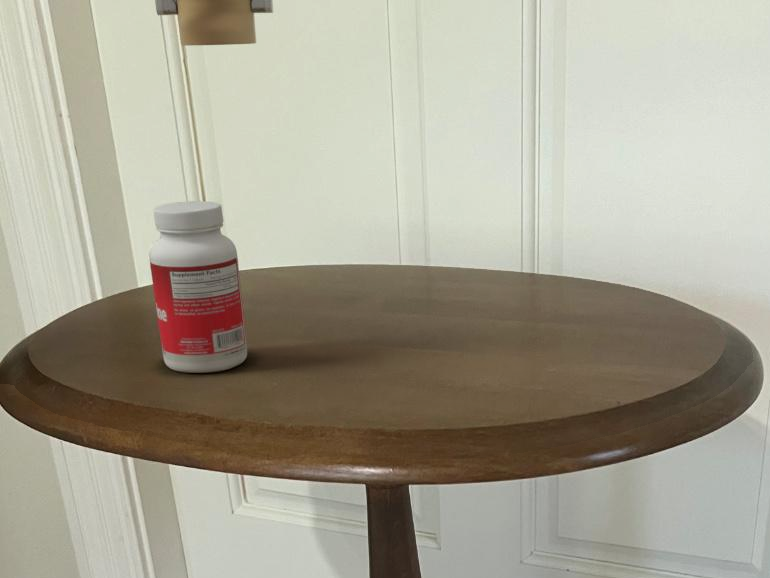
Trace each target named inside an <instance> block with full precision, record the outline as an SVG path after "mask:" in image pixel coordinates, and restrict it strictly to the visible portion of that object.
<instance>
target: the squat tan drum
mask: <svg viewBox="0 0 770 578" xmlns="http://www.w3.org/2000/svg"><path fill="white" fill-rule="evenodd" d="M251 2H252V0H176V4H177V12H178V15H177V22H178V30H179V40H180V45H181V46H225V45H227V46H228V45H251V44H252V45H253V44H257V33H256V32H257V31H256V20H255V19H256V18H255V13H252V7H251Z"/></svg>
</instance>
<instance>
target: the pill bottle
mask: <svg viewBox="0 0 770 578" xmlns="http://www.w3.org/2000/svg"><path fill="white" fill-rule="evenodd" d="M153 218H154V225H155V227H156V228H155V230H156V231H157V232H159V234H160V237H159V238H158V239H157V240H155V241H154V242H153V244H152V245H151V247H150V248H149V253H148V257H149V268H150V274H151V280H152V287H153V288H152V289H153V295H154V301H155V308H156V313H157V314H156V316H157V323H158V329H159V336H160V337H159V338H160V344H161V350H162V351H161V352H162V357H163V361H164V364H165V366H167V368H169V369H171V370H173V371H175V372H180V373H189V374H203V373H204V374H206V373H217V372H223V371H226V370H230V369H233V368H235V367H237V366H239V365H241V364H242V363H244V361H245V360H246V359H247V357H248V344H247V333H246V326H245V318H244V308H243V298H242V297H243V296H242V288H241V279H240V268H239V258H238V257H239V256H238V252H237V251H238V250H237V246H236V244H235V243H234V241H233V240H232V239H230V238H229V237H227V236H226V235H224V234H222V231H221V228H223V227H224V216H223V207H222V204H221V203H218V202H215V201H204V200H202V201H201V200H190V201H189V200H187V201H175V202H168V203H164V204H160V205H157V206H155V207H154V208H153Z"/></svg>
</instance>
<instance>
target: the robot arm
mask: <svg viewBox="0 0 770 578" xmlns="http://www.w3.org/2000/svg"><path fill="white" fill-rule="evenodd" d="M273 1H274V0H252V2H251V7H252V13H254V14H273V13H274V2H273ZM154 2H155V3H154V4H155V11H156V14H157V16H178V12H177V4H176V0H154Z"/></svg>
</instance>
